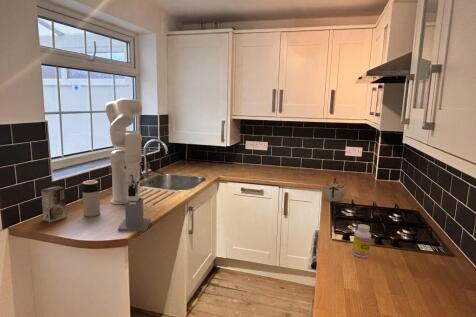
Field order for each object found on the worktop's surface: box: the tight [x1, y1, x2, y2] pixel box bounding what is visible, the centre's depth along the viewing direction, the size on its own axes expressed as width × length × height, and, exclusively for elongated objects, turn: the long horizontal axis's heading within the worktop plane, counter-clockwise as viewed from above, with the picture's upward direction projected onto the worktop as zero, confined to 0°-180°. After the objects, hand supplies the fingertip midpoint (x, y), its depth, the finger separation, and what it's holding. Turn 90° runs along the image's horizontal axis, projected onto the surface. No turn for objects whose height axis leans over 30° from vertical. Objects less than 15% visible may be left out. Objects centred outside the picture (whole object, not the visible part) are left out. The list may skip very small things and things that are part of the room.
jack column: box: [128, 182, 141, 202], centre depth 154 cm, size 5×5×20 cm
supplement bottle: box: [352, 223, 372, 259], centre depth 134 cm, size 7×7×13 cm
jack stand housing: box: [117, 197, 151, 233], centre depth 155 cm, size 13×13×14 cm
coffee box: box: [40, 185, 68, 223], centre depth 161 cm, size 9×6×16 cm
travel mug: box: [81, 179, 101, 218], centre depth 169 cm, size 8×8×18 cm
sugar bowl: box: [322, 177, 347, 202], centre depth 209 cm, size 20×15×15 cm
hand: (134, 193), depth 153 cm, fingers open, 9 cm apart
